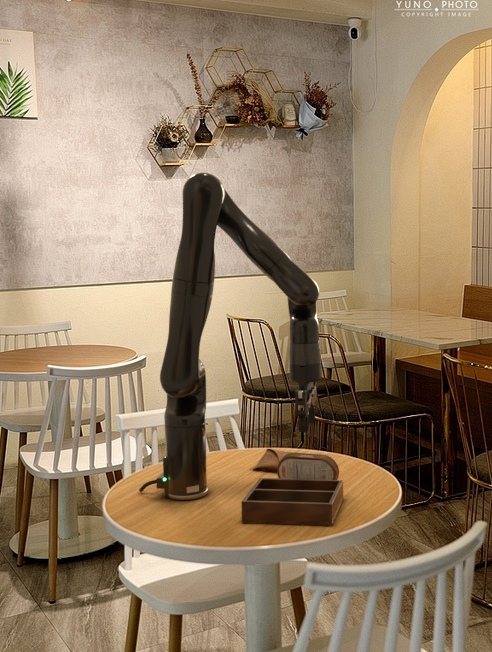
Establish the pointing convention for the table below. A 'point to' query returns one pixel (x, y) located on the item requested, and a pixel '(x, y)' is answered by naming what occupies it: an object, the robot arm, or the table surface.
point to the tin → (307, 467)
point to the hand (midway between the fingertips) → (307, 427)
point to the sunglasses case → (270, 460)
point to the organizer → (293, 501)
